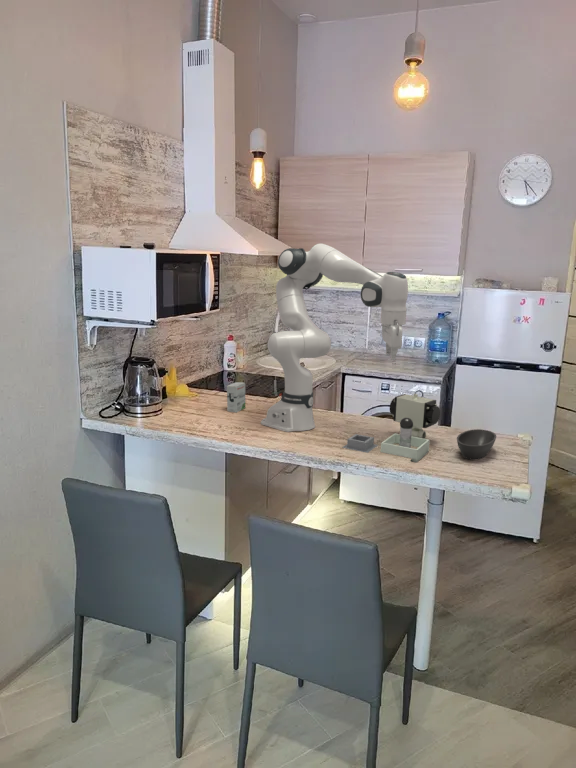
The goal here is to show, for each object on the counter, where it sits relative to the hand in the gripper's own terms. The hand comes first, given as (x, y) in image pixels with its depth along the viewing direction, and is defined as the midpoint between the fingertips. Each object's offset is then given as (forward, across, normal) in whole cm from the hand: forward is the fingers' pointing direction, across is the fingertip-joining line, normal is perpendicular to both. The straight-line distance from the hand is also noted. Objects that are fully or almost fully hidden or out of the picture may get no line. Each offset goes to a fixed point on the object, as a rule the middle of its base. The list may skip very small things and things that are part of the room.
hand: (390, 357), depth 209 cm
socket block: (+33, -8, +10) cm, 35 cm away
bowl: (+33, -10, -31) cm, 46 cm away
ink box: (+34, +42, +60) cm, 80 cm away
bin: (+33, -11, -5) cm, 35 cm away
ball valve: (+33, +6, -12) cm, 36 cm away
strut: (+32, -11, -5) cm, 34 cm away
